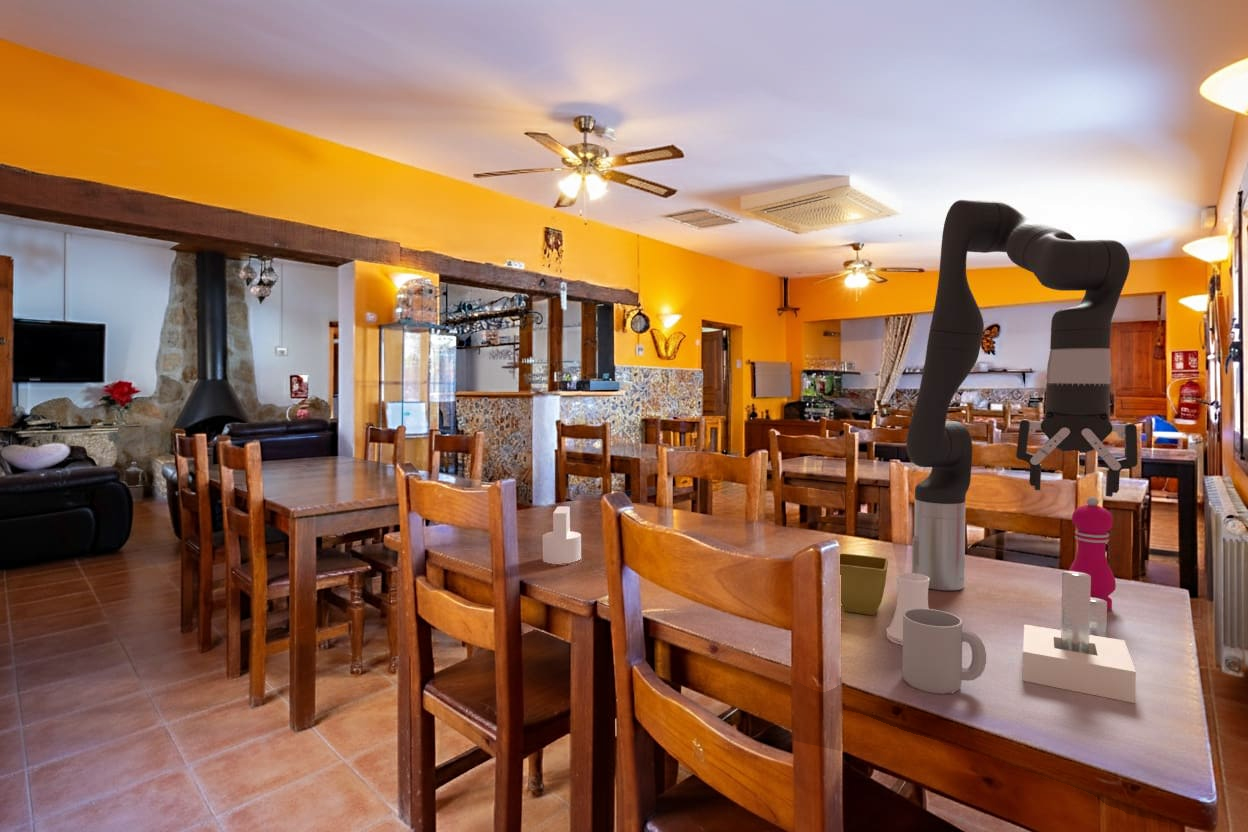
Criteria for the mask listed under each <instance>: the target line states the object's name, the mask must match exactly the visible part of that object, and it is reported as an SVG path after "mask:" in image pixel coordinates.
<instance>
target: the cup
mask: <svg viewBox="0 0 1248 832" xmlns="http://www.w3.org/2000/svg"><path fill="white" fill-rule="evenodd" d="M963 642H965V643H967V644H968V645H969V646H970V649H971V662H970V665H969V666H968V667H963ZM901 664H902V678H903V680H904V681H905V682H907V683H908V684H907V683H906V684H907V685H909V684H910V685H911V686H910V685H909V686H910V687H912V686H913V687H912V688H914V687H915V688H917V689H916V690H918V689H920V690H919V691H921V690H922V691H921V692H924V691H926V692H925V693H928V692H931V693H930V694H933V693H936V694H935V695H947V694H946V693H951V694H953V693H952V692H955V693H957V692H958V691H959V690H960V688H961V687H962V681H966V682H969V681H974V680H977V678H979V677H981V676H982V674H983V673H984V671H985V670H986V665H987V651H986V647H985V645H984V642H983V641H982V639H981V638H980V637H979V636H978V635H977V633H975V632H973V631H970V630H969V629H965V628H963V620H962V619H961V617H959V616H957V615H955V614H954V613H951V612H947V611H944V610H939V609H938V610H937V609H933V608H929V609H920V608H919V609H910V610H907V611H905V612H904V613H903V645H902V663H901ZM915 688H914V689H915ZM956 691H957V692H956ZM938 693H940V694H938ZM941 693H943V694H941ZM944 693H945V694H944Z"/></svg>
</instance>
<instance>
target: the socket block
mask: <svg viewBox="0 0 1248 832" xmlns="http://www.w3.org/2000/svg"><path fill="white" fill-rule="evenodd" d="M1136 673H1137V672H1136V669H1135V666H1134V663H1133V660H1132V658H1131V655H1130V652H1129V649H1128V647H1127V644H1126V641H1125V639H1118V638H1110V637H1107V636H1106V637H1100V636H1093V635H1089V654H1085V653H1079V652H1074V651H1068V650H1062V649H1061V629H1055V628H1049V627H1042V626H1037V625H1030V624H1023V649H1022V682H1027V683H1032V684H1038V685H1042V686H1048V687H1052V688H1058V689H1063V690H1067V691H1071V692H1072V691H1073V692H1076V693H1081V694H1082V693H1083V694H1085V695H1087V694H1088V695H1092V696H1096V697H1097V696H1098V697H1102V698H1107V699H1112V700H1118V701H1122V702H1126V703H1132V704H1136V683H1137V682H1136V677H1137V674H1136Z"/></svg>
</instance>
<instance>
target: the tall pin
mask: <svg viewBox="0 0 1248 832" xmlns="http://www.w3.org/2000/svg"><path fill="white" fill-rule="evenodd" d="M1061 576H1062V577H1061V582H1062V584H1061V614H1060V615H1061V621H1060V622H1061V625H1060V627H1061V628H1060V630H1061V649H1062V650H1068V651H1074V652H1079V653H1085V654H1089V631H1090V590H1091V576H1090V575H1089V574H1086V573H1082V572H1075V571H1069V570H1067V571H1065V570H1064V571H1062V573H1061Z"/></svg>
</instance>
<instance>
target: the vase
mask: <svg viewBox="0 0 1248 832" xmlns="http://www.w3.org/2000/svg"><path fill="white" fill-rule="evenodd" d="M895 576H896V583H897V584H896V585H897V596H896V597H897V600H896V607H895V611H894V615H893V618H892V621H891V623H890V625H889V626H887V627H886V638H887V640H889V641H890V642H892V643H894V644H896V645H899V644H900V646H903V613H904V612H905V611H907V610H910V609H919V608H920V609H930V608H929V588H928V587H929V580H930V578H929V577H927V576H925V575H921V574H916V573H912V572H900V573H897V574H896V575H895Z"/></svg>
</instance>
